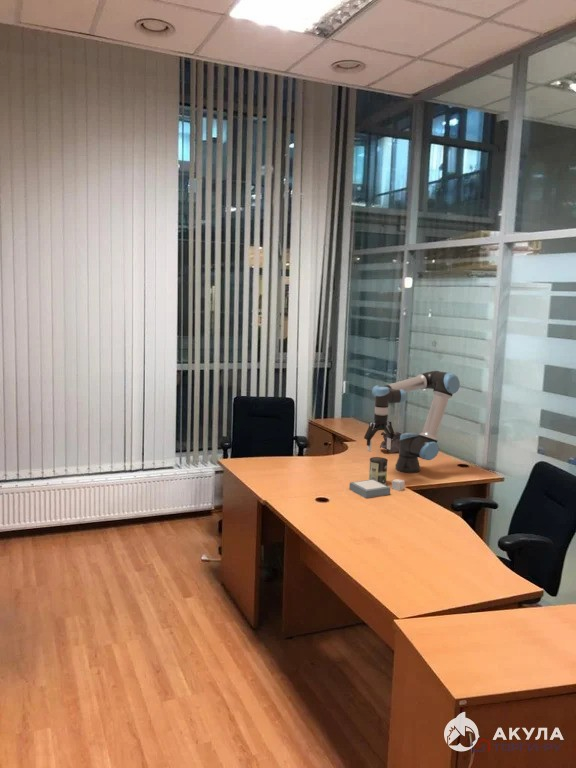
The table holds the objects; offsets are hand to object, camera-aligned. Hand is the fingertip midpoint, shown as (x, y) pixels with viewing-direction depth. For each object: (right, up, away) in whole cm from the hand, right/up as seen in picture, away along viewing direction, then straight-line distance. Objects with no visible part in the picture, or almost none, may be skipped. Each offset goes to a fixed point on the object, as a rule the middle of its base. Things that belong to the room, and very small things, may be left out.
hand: (378, 450), depth 359 cm
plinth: (-7, -22, -14) cm, 27 cm away
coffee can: (0, -19, +3) cm, 20 cm away
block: (+10, -21, -7) cm, 24 cm away
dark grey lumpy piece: (+21, -9, +73) cm, 77 cm away
